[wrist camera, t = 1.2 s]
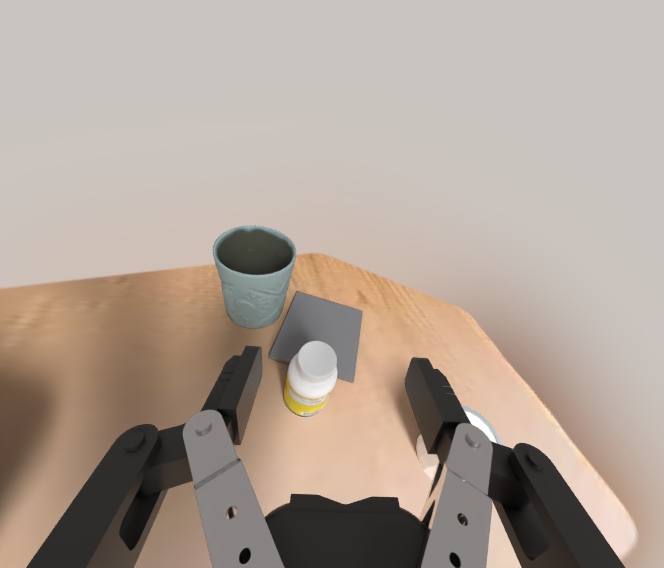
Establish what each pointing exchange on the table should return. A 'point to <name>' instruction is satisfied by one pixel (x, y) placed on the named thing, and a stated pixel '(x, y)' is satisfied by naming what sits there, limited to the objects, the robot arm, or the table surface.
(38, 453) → the table surface
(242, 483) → the robot arm
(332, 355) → the supplement bottle
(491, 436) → the shot glass
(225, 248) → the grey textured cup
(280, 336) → the mat
